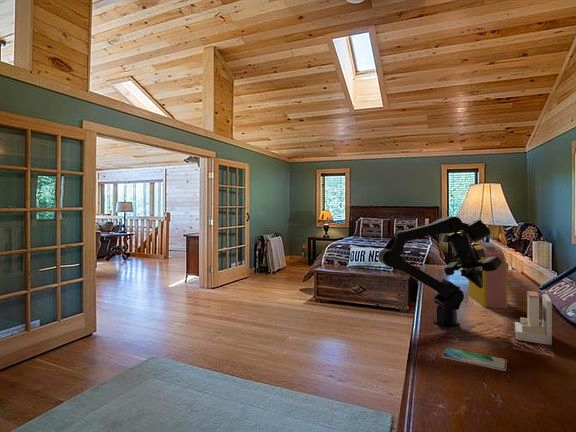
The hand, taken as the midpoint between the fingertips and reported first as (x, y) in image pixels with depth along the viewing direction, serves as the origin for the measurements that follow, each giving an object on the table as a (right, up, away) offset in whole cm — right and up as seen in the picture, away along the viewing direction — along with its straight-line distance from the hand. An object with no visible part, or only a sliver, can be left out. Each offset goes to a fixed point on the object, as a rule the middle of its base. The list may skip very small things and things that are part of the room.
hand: (481, 287), depth 123 cm
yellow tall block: (+20, -13, +30) cm, 38 cm away
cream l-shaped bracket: (+9, -13, -13) cm, 20 cm away
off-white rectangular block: (+9, -10, -13) cm, 19 cm away
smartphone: (-19, -14, -29) cm, 38 cm away
